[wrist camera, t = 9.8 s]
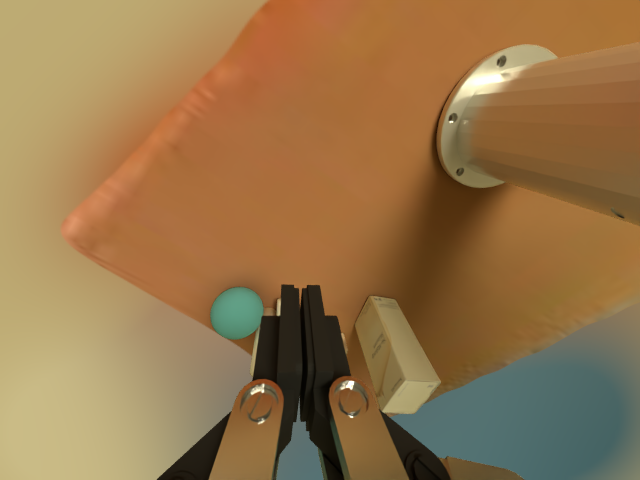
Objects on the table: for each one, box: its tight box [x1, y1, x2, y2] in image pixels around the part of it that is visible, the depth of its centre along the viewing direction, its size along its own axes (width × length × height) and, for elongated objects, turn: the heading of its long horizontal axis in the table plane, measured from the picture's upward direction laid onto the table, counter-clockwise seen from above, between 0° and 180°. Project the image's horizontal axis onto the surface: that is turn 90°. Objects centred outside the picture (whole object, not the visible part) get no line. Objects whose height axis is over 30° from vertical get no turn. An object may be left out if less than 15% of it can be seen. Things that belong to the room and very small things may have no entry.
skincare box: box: [355, 296, 441, 414], centre depth 30 cm, size 6×4×12 cm
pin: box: [250, 307, 276, 377], centre depth 30 cm, size 2×2×8 cm
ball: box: [210, 287, 264, 339], centre depth 29 cm, size 6×6×6 cm
